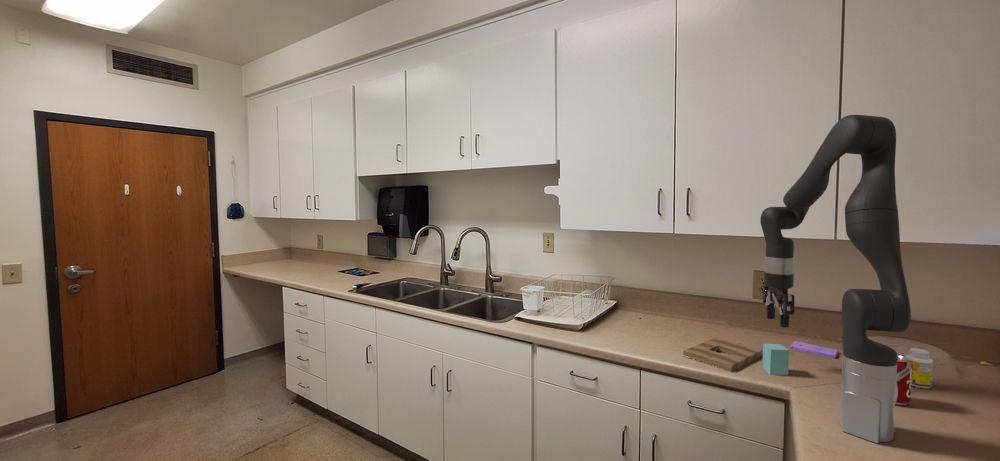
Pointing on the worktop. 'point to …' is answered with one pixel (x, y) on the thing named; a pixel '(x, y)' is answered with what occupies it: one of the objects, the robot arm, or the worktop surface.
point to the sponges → (814, 349)
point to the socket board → (727, 362)
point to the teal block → (775, 359)
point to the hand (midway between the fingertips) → (777, 322)
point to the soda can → (903, 381)
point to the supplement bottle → (921, 368)
